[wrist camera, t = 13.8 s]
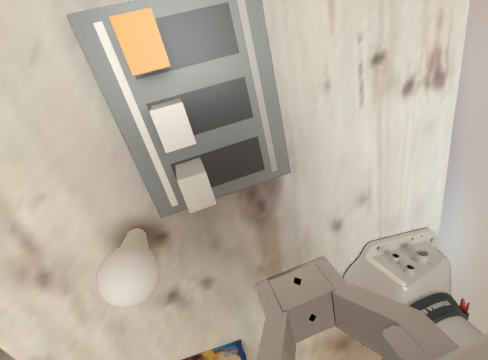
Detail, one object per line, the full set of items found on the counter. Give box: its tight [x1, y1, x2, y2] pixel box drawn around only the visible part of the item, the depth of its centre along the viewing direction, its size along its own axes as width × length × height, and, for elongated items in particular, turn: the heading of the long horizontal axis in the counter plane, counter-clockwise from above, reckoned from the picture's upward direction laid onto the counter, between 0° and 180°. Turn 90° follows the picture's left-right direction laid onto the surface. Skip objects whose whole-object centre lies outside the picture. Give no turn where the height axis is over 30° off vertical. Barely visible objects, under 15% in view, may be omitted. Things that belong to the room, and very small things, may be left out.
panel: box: [66, 0, 291, 218], centre depth 27 cm, size 18×22×7 cm
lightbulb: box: [96, 228, 160, 308], centre depth 28 cm, size 6×6×11 cm
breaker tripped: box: [109, 7, 171, 76], centre depth 22 cm, size 3×4×5 cm
